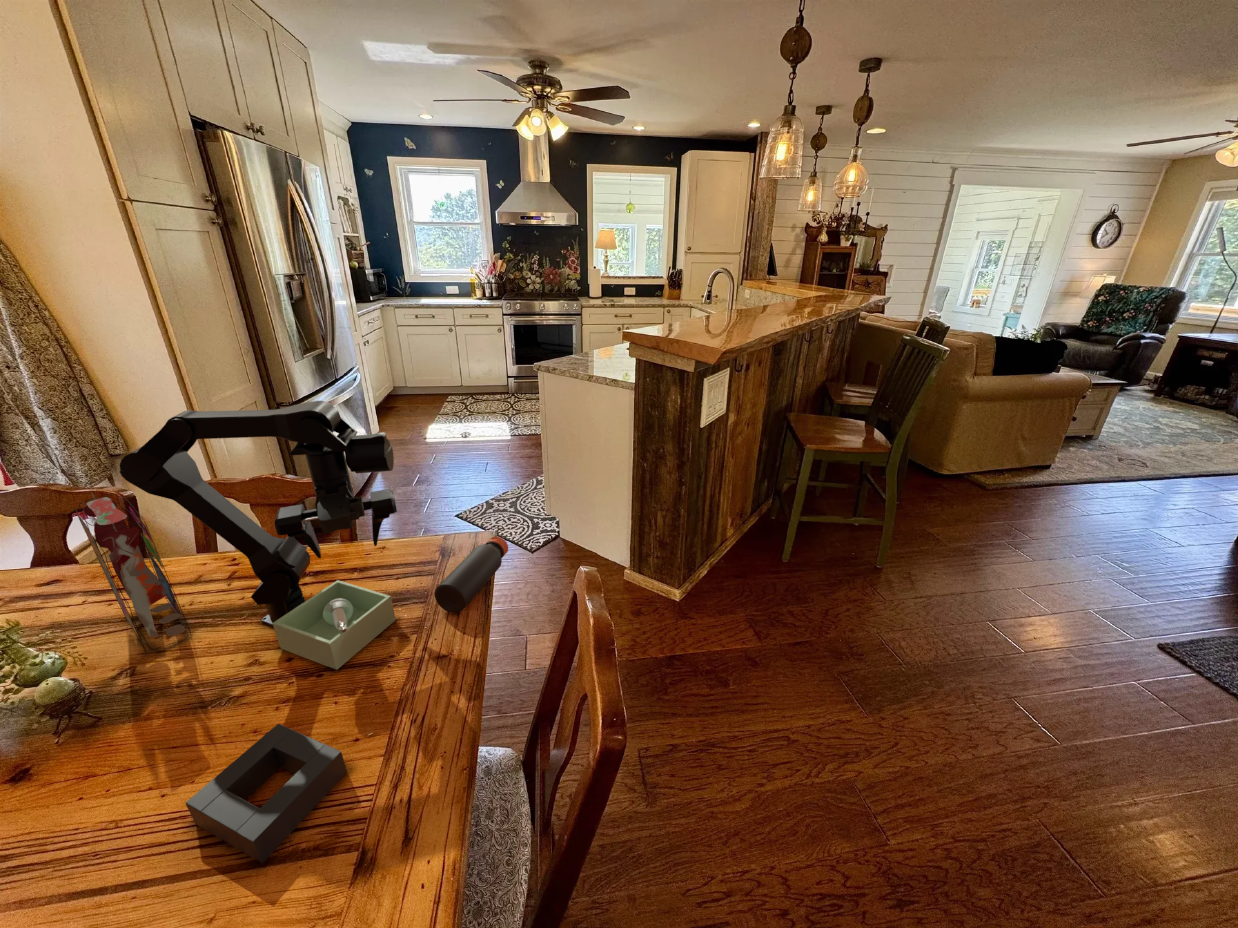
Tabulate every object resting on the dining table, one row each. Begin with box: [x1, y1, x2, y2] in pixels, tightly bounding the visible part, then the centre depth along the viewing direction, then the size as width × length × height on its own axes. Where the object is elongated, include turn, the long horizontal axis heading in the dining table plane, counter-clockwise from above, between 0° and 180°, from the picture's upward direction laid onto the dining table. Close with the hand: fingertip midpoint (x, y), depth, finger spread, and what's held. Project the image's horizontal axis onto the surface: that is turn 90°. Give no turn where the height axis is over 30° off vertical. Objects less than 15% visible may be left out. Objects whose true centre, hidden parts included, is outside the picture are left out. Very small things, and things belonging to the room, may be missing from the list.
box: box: [73, 491, 193, 654], centre depth 88 cm, size 25×6×24 cm, turn 53°
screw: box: [323, 598, 353, 632], centre depth 87 cm, size 13×5×5 cm
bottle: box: [434, 535, 509, 614], centre depth 103 cm, size 7×7×20 cm
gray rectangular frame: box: [185, 723, 348, 865], centre depth 62 cm, size 12×12×4 cm
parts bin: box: [272, 579, 397, 670], centre depth 89 cm, size 13×13×6 cm
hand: (348, 550), depth 92 cm, fingers open, 9 cm apart
